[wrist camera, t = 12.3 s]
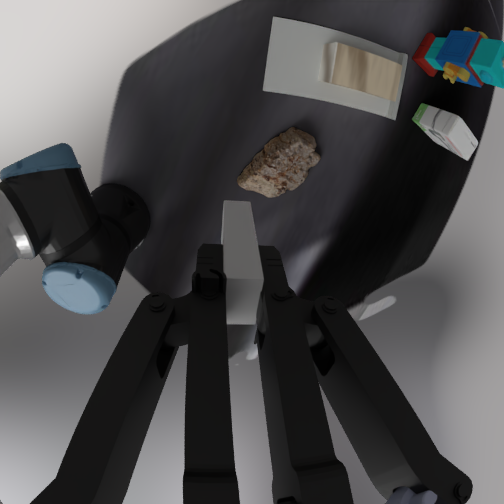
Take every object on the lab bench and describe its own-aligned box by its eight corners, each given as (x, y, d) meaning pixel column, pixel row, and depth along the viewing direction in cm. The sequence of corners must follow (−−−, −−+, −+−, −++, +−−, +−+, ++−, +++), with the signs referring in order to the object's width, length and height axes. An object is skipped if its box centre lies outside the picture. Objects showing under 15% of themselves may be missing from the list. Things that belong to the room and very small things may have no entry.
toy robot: (425, 81, 39) (521, 112, 19) (405, 62, 37) (505, 81, 17) (445, 45, 34) (539, 63, 14) (427, 26, 31) (524, 33, 12)
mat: (262, 90, 41) (264, 91, 40) (273, 16, 33) (275, 14, 31) (390, 118, 45) (395, 120, 43) (402, 54, 36) (408, 54, 35)
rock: (289, 116, 45) (297, 122, 40) (328, 152, 49) (339, 162, 44) (234, 177, 51) (235, 190, 46) (275, 207, 55) (280, 222, 51)
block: (329, 82, 35) (395, 101, 37) (336, 42, 31) (402, 65, 33) (317, 80, 40) (378, 96, 42) (323, 44, 36) (385, 63, 38)
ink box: (410, 119, 45) (447, 135, 35) (421, 101, 42) (459, 115, 33) (433, 142, 47) (468, 162, 38) (444, 125, 45) (479, 143, 36)
